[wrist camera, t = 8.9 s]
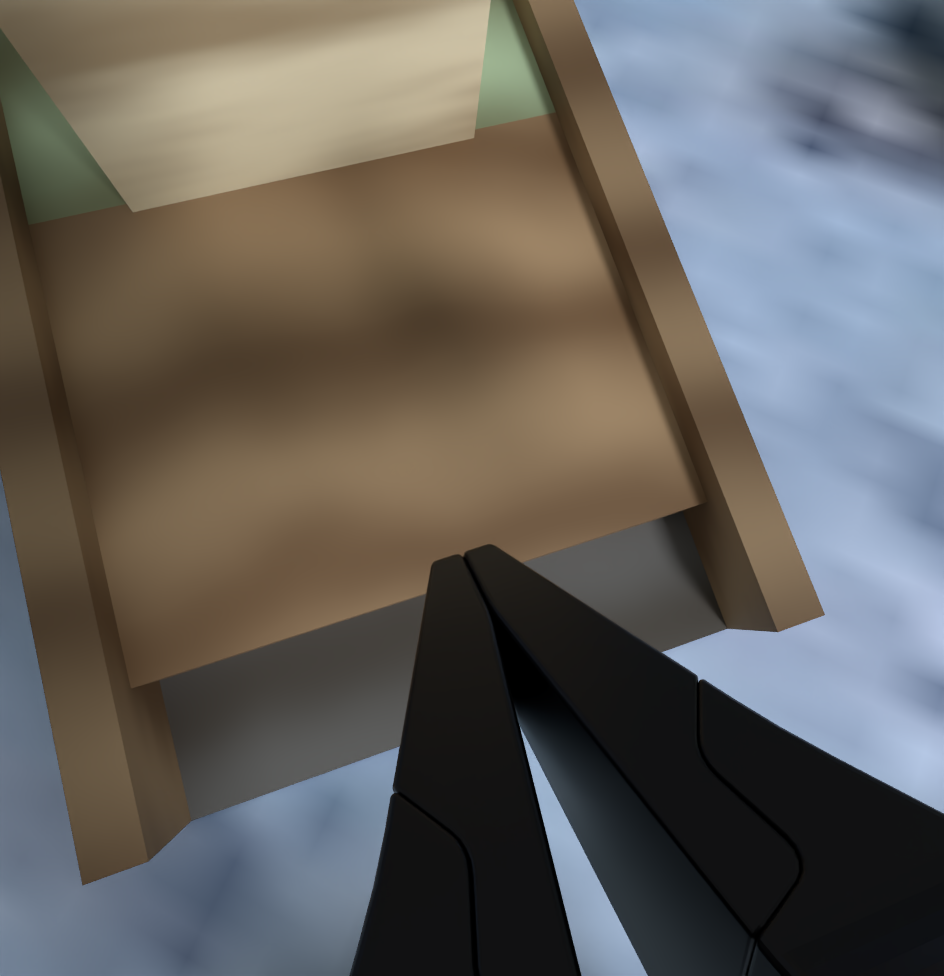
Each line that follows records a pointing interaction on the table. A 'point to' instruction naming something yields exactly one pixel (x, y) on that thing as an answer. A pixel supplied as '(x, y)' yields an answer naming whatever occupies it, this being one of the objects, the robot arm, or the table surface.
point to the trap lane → (350, 432)
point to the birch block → (251, 84)
